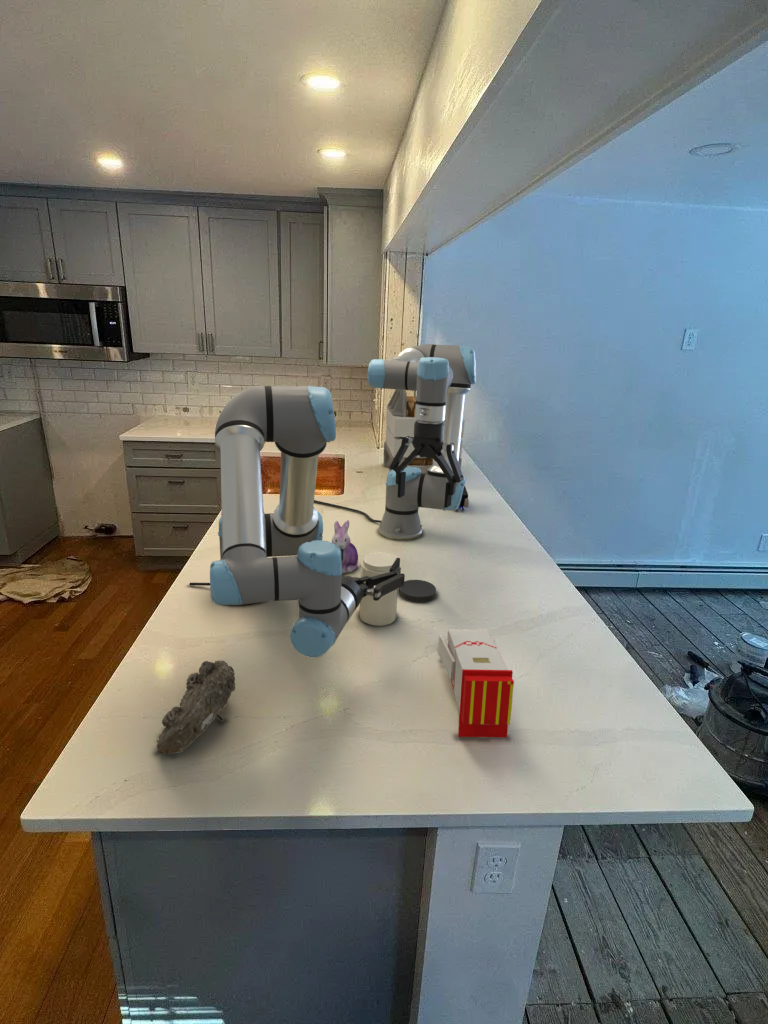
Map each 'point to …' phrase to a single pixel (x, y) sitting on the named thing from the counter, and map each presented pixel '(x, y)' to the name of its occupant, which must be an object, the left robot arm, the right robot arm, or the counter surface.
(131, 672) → the counter surface
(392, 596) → the jar
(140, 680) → the counter surface
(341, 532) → the figurine
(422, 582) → the lid
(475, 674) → the toy
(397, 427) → the white wooden crate
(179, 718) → the fossil
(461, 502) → the figurine character
